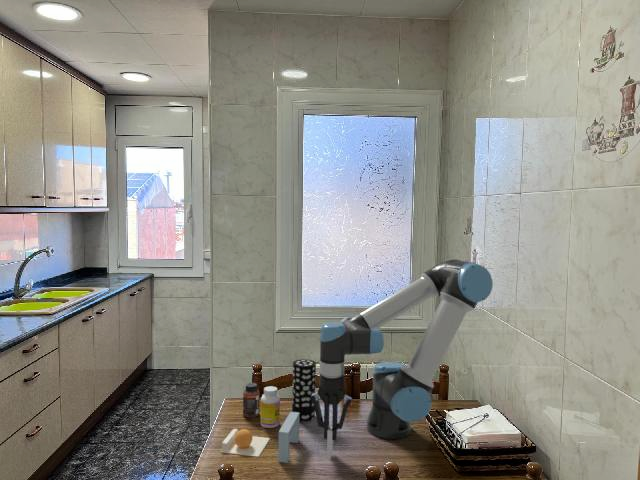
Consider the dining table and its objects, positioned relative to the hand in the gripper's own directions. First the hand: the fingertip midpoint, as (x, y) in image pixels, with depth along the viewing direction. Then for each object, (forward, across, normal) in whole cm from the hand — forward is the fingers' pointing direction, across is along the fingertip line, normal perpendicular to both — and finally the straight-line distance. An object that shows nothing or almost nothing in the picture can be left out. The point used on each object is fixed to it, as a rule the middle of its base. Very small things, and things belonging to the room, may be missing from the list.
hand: (330, 449), depth 145 cm
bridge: (+2, +13, 0) cm, 13 cm away
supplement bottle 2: (+2, +24, -16) cm, 29 cm away
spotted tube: (+2, +14, -25) cm, 29 cm away
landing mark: (+2, +27, 0) cm, 27 cm away
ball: (-1, +28, +1) cm, 28 cm away
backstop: (+2, +32, 0) cm, 33 cm away
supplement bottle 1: (+2, +33, -22) cm, 40 cm away
